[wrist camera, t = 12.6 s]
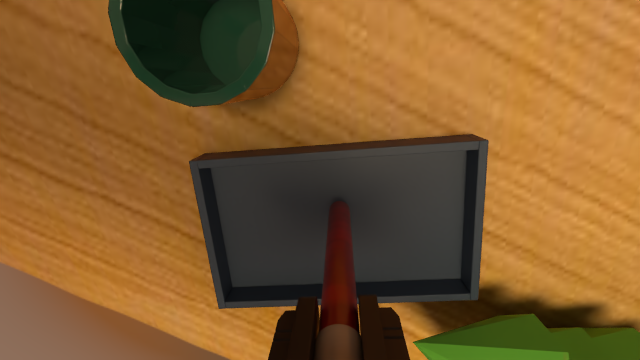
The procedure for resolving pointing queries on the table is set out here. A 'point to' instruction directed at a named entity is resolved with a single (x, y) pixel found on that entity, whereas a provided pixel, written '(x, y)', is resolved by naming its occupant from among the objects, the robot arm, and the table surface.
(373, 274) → the tray
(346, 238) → the brush
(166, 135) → the table surface
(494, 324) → the decorative tree
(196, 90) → the cup
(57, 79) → the table surface
